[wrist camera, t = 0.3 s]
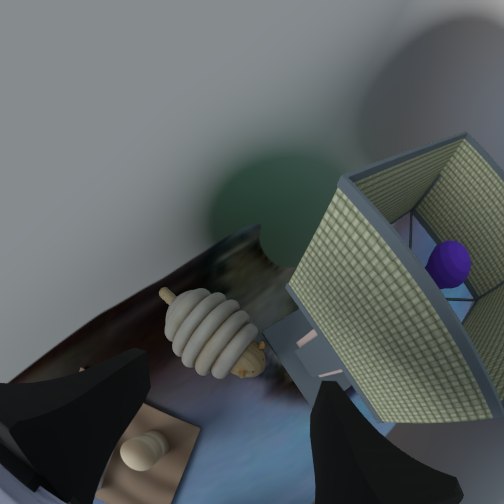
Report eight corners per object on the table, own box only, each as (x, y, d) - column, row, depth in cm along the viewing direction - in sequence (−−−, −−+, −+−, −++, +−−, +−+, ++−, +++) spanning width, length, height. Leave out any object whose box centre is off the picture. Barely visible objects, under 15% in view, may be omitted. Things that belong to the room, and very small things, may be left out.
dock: (161, 526, 22) (157, 535, 19) (51, 463, 23) (40, 466, 21) (201, 427, 32) (199, 430, 29) (83, 368, 33) (73, 365, 31)
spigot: (164, 460, 28) (148, 476, 20) (138, 448, 28) (116, 460, 20) (173, 437, 30) (159, 449, 22) (147, 425, 30) (126, 433, 22)
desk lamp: (345, 280, 45) (464, 129, 17) (390, 345, 40) (554, 249, 12) (254, 337, 39) (337, 170, 11) (306, 414, 34) (505, 421, 6)
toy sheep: (239, 401, 34) (245, 404, 25) (144, 335, 38) (120, 313, 28) (278, 342, 39) (296, 323, 30) (185, 283, 43) (175, 247, 33)
